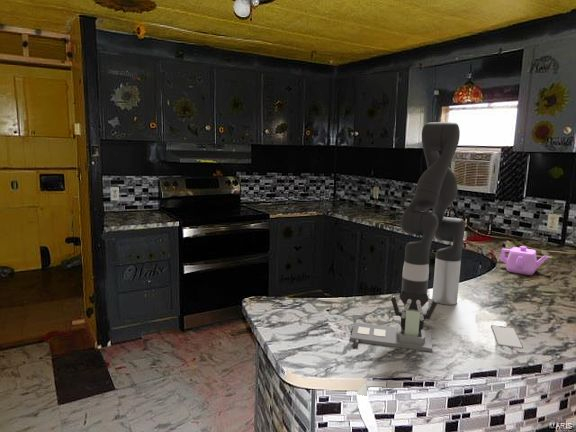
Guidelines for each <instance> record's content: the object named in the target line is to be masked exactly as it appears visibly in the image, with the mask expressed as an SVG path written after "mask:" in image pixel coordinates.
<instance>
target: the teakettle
mask: <svg viewBox="0 0 576 432" xmlns="http://www.w3.org/2000/svg"><path fill="white" fill-rule="evenodd" d="M506 253H508V255H507V257H506ZM548 258H549V256H548V255H543V256H542V257H540V258H539V259H538V260H537V250H535V249H532V248H531V249H530V248H528V247H527V246H524V245H521V246H519V247H516V246H513V247H511V248H510V249H509V248H501V251H500V255H499V260H500V261H501V262H503V263H504V264H505V267H506V268H505V269H506V271H507V272H508V273H509V272H510V273H514V274H515V273H516V274H521V275H527V276H532V275H534V274H535V273H536V270H537V269H538V268H539V267H541V265H542V264H543V263H545V261H546V260H547V259H548Z"/></svg>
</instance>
